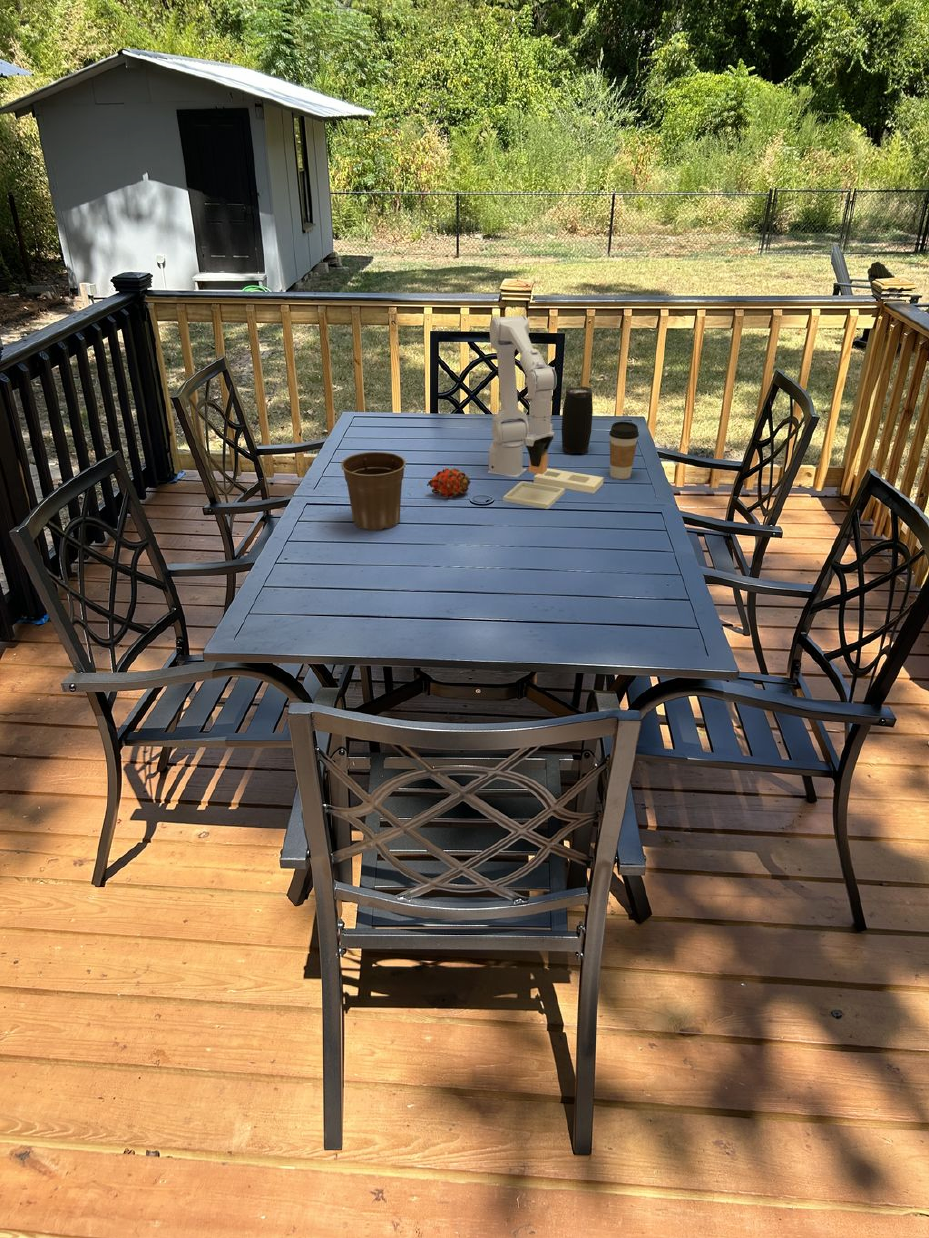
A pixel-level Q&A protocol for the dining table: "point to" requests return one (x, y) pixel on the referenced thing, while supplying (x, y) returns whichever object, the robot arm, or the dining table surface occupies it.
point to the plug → (543, 464)
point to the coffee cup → (622, 449)
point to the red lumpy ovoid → (449, 483)
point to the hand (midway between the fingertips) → (537, 463)
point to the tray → (534, 495)
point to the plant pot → (374, 488)
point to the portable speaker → (577, 420)
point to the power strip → (569, 480)
